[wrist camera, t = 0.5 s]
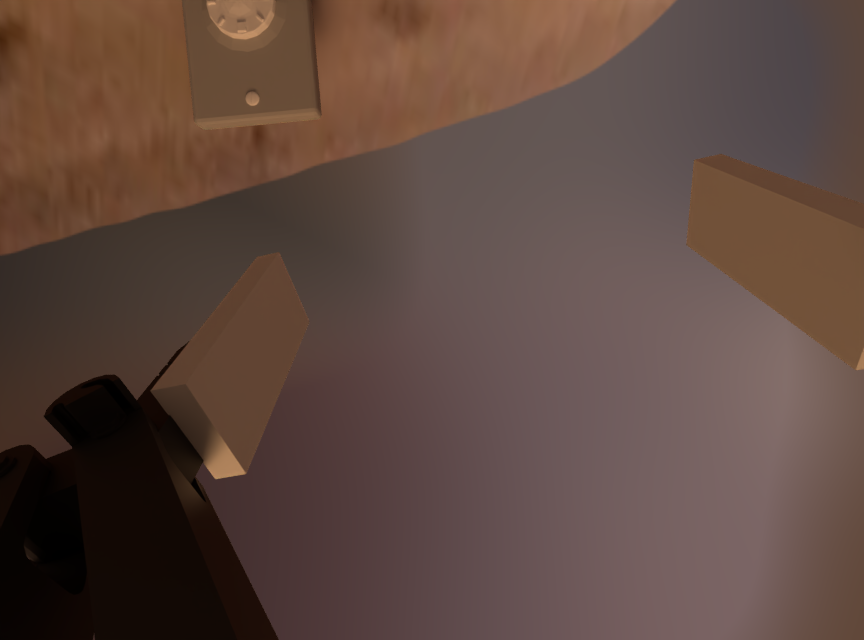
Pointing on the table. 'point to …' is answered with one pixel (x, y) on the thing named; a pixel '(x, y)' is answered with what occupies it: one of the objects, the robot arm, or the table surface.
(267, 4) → the light switch
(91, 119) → the table surface
